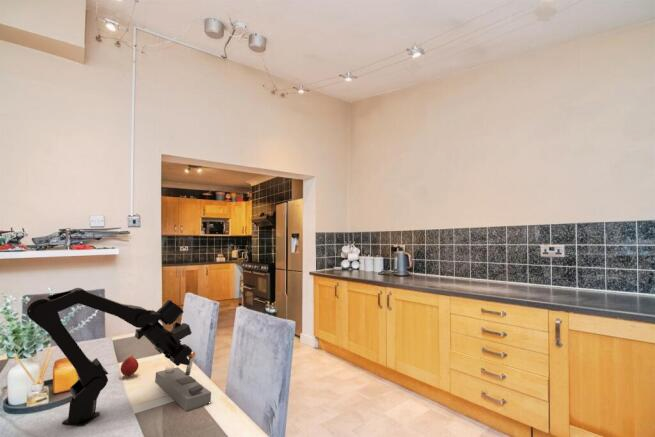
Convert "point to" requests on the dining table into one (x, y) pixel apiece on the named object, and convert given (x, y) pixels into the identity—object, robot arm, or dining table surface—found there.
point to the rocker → (195, 389)
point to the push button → (169, 369)
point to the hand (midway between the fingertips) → (188, 363)
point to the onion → (129, 366)
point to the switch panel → (182, 389)
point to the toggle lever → (190, 363)
